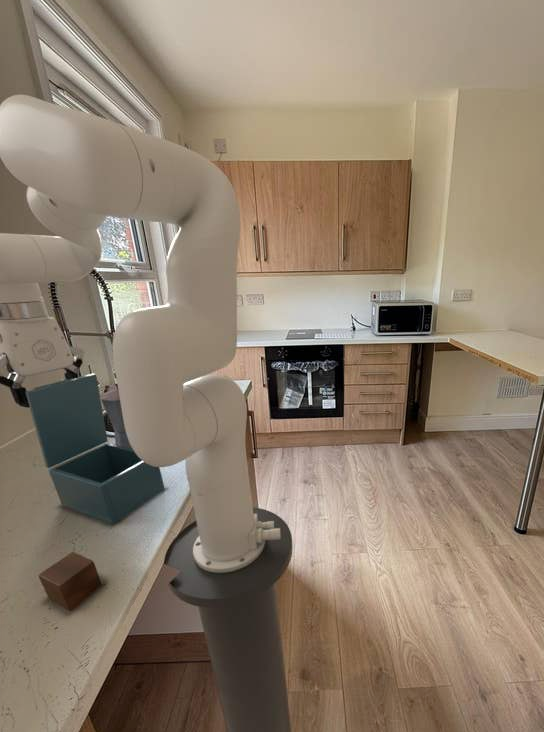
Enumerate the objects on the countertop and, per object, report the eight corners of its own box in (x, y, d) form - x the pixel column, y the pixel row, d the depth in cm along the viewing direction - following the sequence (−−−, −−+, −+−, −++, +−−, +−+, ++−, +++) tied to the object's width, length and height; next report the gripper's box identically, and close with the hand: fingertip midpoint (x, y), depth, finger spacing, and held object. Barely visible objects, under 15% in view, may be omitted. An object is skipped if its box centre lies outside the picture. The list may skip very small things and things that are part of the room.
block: (81, 574, 56) (72, 551, 54) (102, 584, 55) (93, 560, 53) (49, 599, 52) (37, 575, 50) (70, 611, 50) (59, 586, 48)
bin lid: (96, 374, 73) (78, 367, 75) (28, 392, 62) (9, 385, 64) (107, 441, 80) (91, 434, 82) (48, 468, 70) (31, 459, 71)
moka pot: (135, 467, 87) (114, 392, 80) (100, 453, 95) (78, 383, 87) (167, 451, 95) (151, 381, 87) (133, 439, 102) (115, 373, 94)
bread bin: (164, 489, 78) (156, 454, 75) (112, 525, 67) (100, 486, 64) (116, 475, 84) (107, 442, 81) (62, 505, 74) (48, 469, 70)
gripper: (-25, 318, 56) (14, 416, 63) (80, 307, 71) (103, 387, 77) (-49, 317, 59) (-9, 410, 66) (58, 307, 74) (81, 384, 80)
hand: (52, 398), depth 72 cm, fingers open, 9 cm apart
